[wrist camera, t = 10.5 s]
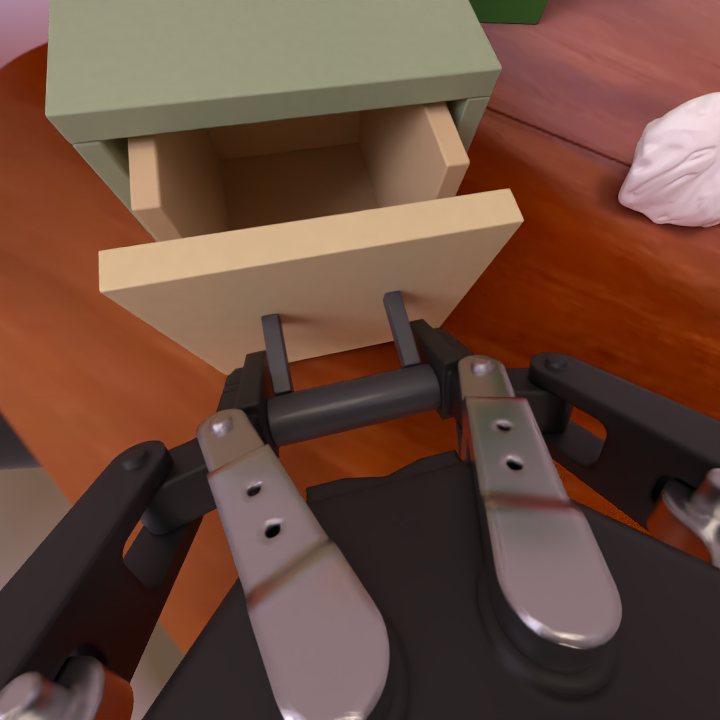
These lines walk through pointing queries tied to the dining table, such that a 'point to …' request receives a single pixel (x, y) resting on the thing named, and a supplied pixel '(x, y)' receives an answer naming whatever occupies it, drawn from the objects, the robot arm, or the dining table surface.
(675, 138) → the bust
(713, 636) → the robot arm
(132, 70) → the cabinet
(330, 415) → the drawer
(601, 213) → the dining table surface
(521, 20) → the hardback book
